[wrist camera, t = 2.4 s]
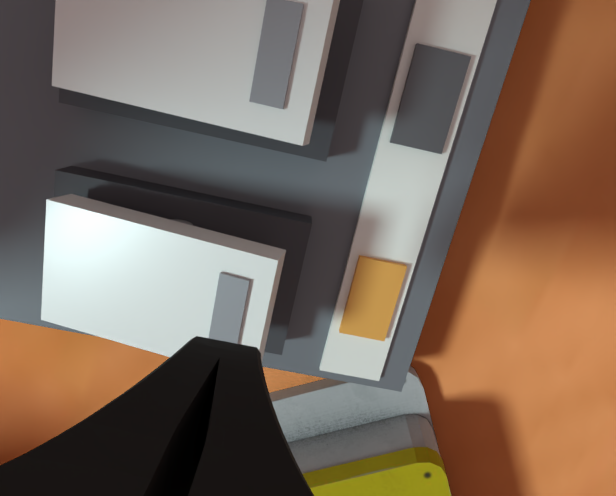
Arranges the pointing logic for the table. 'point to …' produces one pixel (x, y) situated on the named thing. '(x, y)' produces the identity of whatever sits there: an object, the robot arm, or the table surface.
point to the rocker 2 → (154, 278)
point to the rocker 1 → (201, 58)
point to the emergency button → (362, 438)
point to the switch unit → (280, 174)
